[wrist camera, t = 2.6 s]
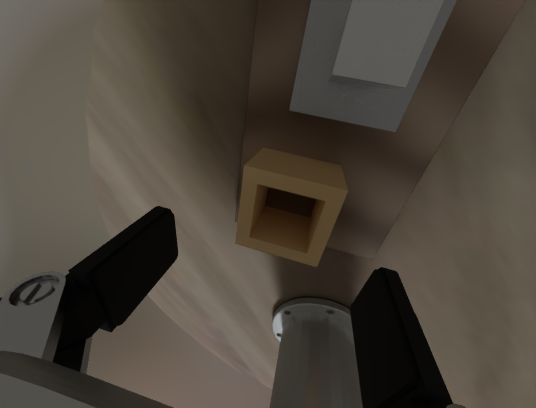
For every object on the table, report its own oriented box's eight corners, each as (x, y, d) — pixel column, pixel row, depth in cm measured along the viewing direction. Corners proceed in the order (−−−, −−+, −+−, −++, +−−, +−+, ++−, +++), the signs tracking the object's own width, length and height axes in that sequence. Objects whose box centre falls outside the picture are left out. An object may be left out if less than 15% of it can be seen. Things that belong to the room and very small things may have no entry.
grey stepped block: (391, 129, 14) (430, 149, 9) (290, 109, 15) (275, 117, 10) (455, -13, 11) (580, -113, 5) (319, -29, 11) (317, -130, 6)
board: (369, 249, 21) (372, 260, 20) (239, 214, 22) (235, 221, 21) (523, -28, 11) (551, -45, 10) (270, -56, 12) (265, -73, 11)
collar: (317, 229, 19) (317, 267, 15) (253, 211, 20) (235, 243, 16) (340, 165, 16) (348, 190, 12) (263, 147, 17) (244, 165, 13)
